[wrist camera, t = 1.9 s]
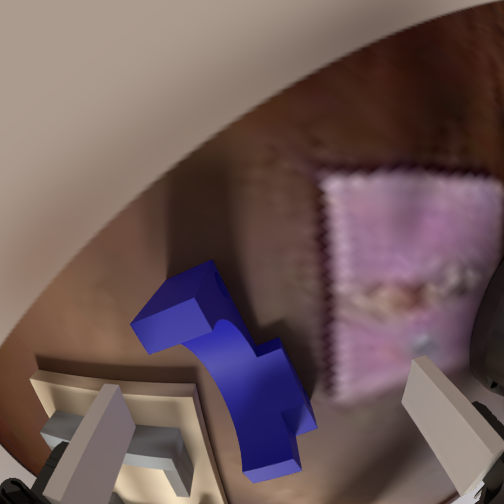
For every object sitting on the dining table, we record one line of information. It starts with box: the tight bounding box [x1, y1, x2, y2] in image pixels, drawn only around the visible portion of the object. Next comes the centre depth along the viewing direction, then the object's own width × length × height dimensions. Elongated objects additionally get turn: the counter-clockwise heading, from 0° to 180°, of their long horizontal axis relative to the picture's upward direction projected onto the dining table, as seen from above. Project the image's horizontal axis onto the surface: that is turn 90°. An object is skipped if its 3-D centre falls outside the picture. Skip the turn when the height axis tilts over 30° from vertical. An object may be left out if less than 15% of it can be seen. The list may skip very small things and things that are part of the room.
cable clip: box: [130, 260, 317, 483], centre depth 15 cm, size 12×4×6 cm, turn 24°
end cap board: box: [30, 369, 228, 504], centre depth 18 cm, size 14×24×4 cm, turn 4°
